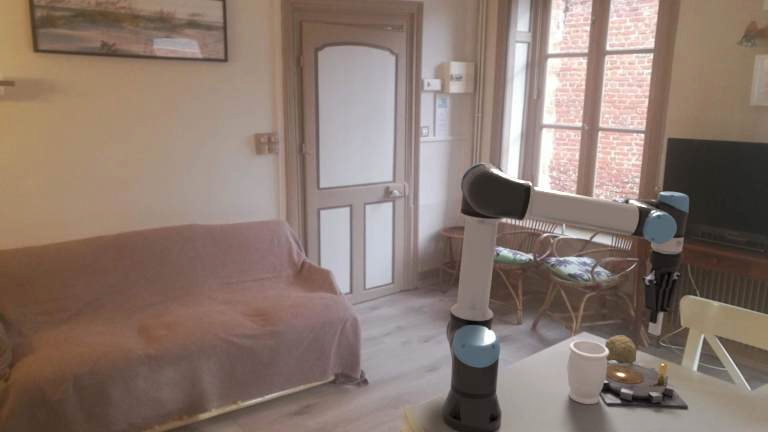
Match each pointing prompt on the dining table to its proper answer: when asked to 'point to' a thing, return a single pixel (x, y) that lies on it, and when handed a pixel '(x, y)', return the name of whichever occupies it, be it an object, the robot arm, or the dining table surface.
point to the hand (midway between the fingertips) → (654, 333)
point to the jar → (586, 370)
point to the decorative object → (621, 349)
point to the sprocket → (637, 381)
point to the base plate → (642, 400)
